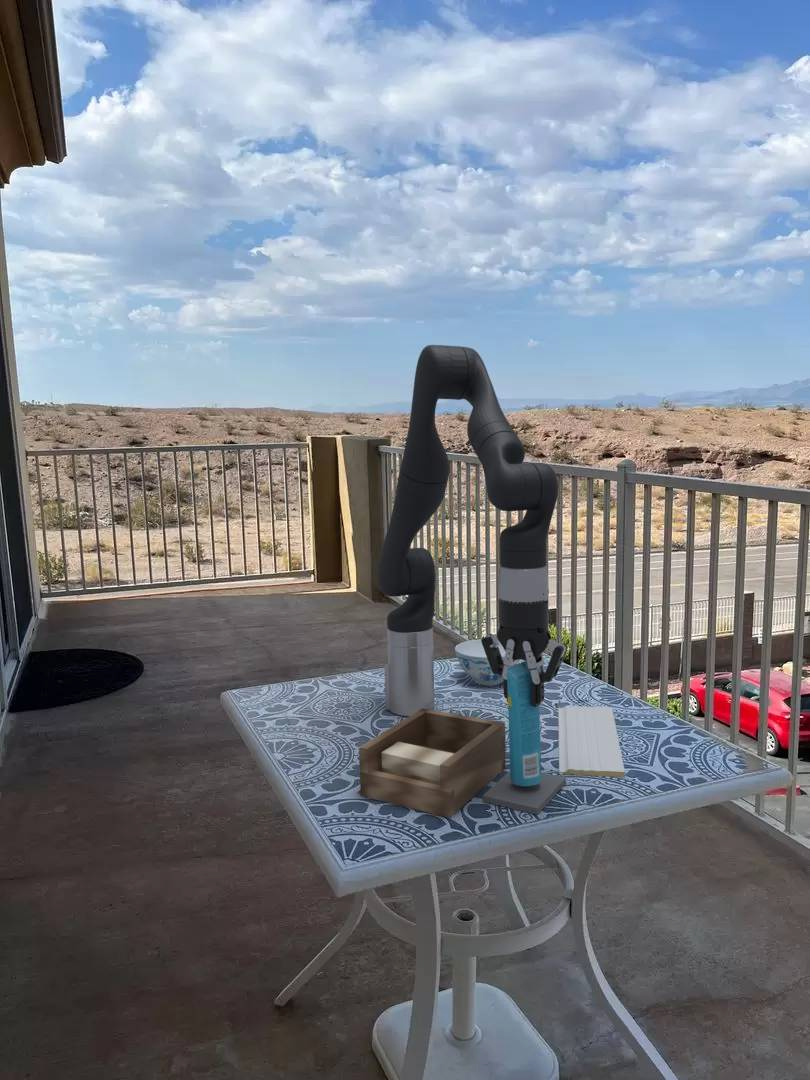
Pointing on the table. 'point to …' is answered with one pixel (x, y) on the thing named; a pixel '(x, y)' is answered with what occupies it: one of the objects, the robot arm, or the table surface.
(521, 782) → the tube
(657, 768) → the table surface
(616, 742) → the baseboard molding
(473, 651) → the chinaware
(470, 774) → the open wooden box
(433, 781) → the offcut middle
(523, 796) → the mat
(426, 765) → the offcut top
